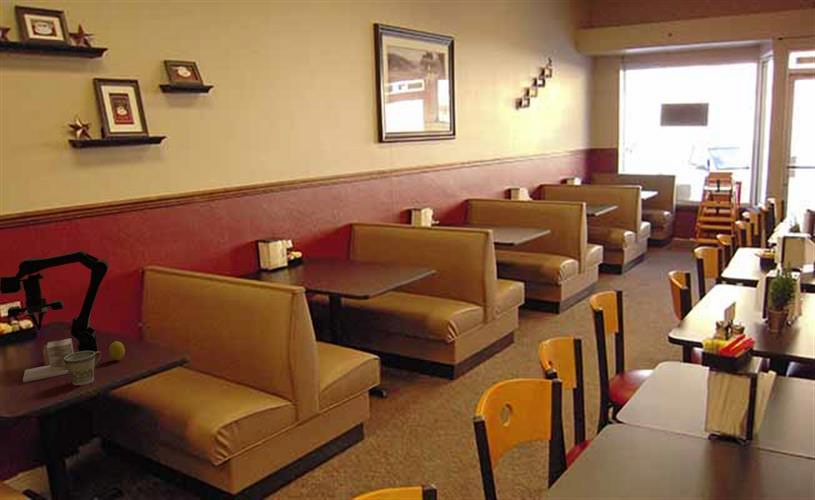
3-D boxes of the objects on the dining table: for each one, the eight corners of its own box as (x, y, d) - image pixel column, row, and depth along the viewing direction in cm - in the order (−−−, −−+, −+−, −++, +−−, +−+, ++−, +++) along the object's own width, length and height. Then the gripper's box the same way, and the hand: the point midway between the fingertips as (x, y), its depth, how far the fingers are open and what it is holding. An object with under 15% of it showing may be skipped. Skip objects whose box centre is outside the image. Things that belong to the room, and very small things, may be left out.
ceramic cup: (78, 389, 226) (74, 362, 224) (62, 385, 231) (57, 358, 229) (112, 376, 236) (108, 350, 234) (96, 372, 242) (92, 346, 240)
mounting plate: (78, 362, 254) (78, 359, 254) (78, 371, 244) (78, 368, 244) (25, 372, 247) (25, 369, 247) (23, 382, 236) (22, 379, 236)
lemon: (129, 358, 255) (126, 339, 253) (117, 363, 250) (114, 343, 248) (119, 357, 257) (116, 338, 255) (107, 362, 252) (104, 342, 251)
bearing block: (75, 361, 252) (71, 338, 250) (75, 367, 245) (71, 343, 243) (51, 366, 249) (47, 342, 247) (51, 372, 242) (46, 348, 240)
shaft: (74, 355, 251) (71, 340, 250) (73, 359, 245) (71, 344, 244) (45, 360, 247) (43, 345, 245) (45, 364, 241) (42, 349, 240)
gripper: (2, 299, 243) (10, 339, 245) (59, 290, 251) (65, 329, 253) (5, 293, 252) (12, 331, 255) (59, 285, 260) (66, 323, 263)
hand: (39, 329), depth 257 cm, fingers closed
